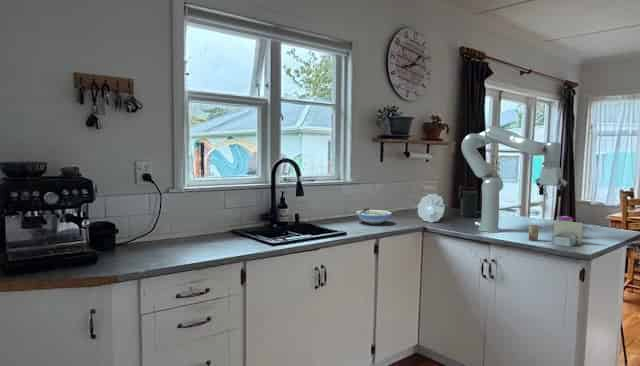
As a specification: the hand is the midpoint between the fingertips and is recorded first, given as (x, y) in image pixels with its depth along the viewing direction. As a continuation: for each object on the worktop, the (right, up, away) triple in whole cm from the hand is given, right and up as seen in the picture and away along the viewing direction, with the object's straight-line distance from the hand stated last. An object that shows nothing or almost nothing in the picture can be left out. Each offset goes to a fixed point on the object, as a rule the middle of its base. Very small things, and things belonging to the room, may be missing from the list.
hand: (549, 195), depth 232 cm
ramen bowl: (-92, -19, +40) cm, 102 cm away
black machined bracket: (-19, -17, +76) cm, 80 cm away
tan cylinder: (-13, -24, -8) cm, 28 cm away
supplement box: (+9, -23, +2) cm, 25 cm away
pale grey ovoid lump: (-51, -19, +55) cm, 77 cm away
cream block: (0, -24, -15) cm, 28 cm away
